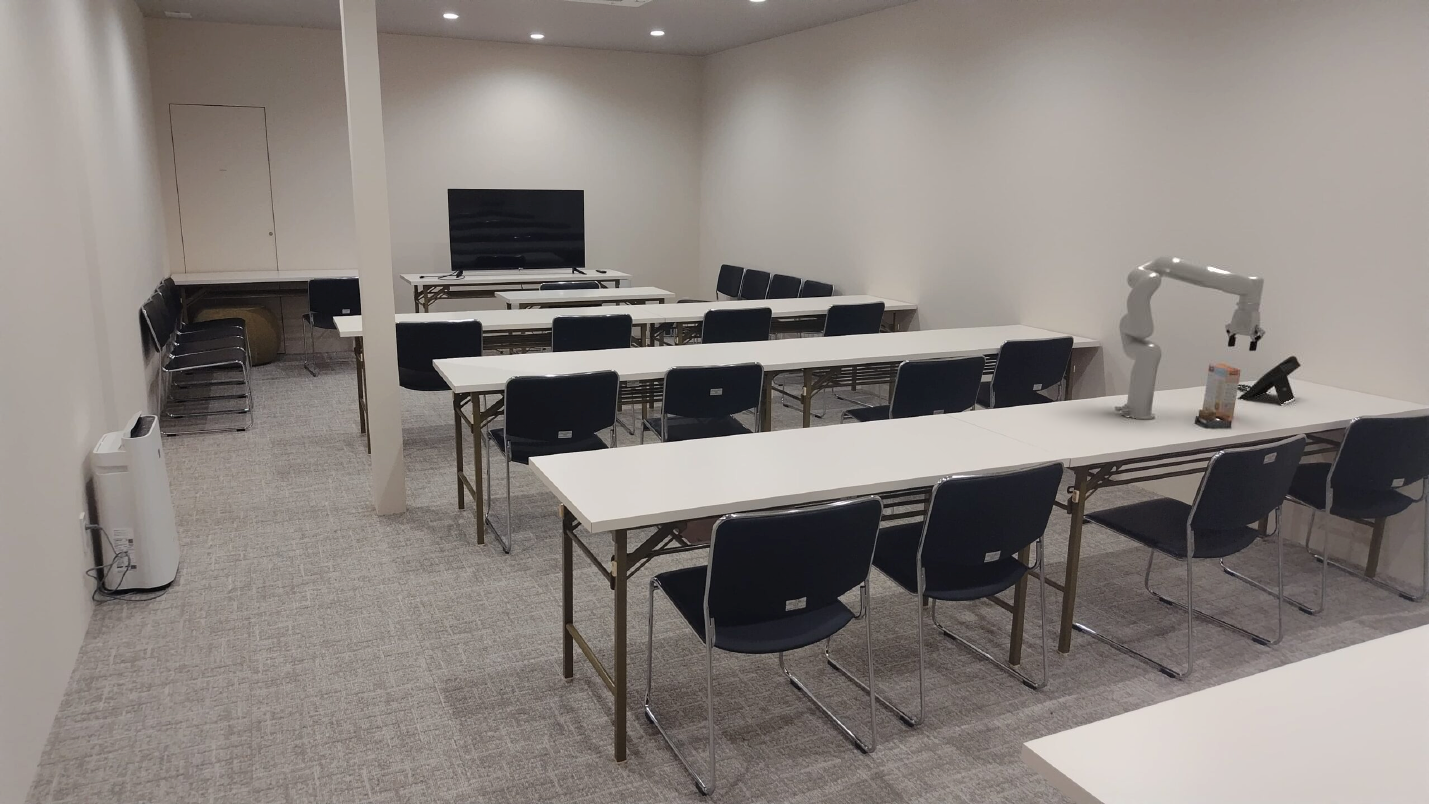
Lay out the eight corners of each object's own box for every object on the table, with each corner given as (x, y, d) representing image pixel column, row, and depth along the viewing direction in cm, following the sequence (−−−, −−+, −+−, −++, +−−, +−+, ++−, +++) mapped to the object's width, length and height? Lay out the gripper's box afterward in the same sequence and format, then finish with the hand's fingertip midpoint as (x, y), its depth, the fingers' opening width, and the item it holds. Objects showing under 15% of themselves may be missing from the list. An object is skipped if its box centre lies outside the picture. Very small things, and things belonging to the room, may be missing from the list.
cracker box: (1233, 419, 367) (1241, 369, 362) (1218, 419, 367) (1226, 369, 362) (1215, 411, 380) (1223, 362, 375) (1201, 410, 380) (1208, 362, 375)
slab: (1205, 419, 353) (1206, 412, 353) (1198, 416, 358) (1199, 409, 357) (1215, 419, 354) (1216, 412, 353) (1207, 416, 358) (1208, 409, 357)
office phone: (1236, 386, 429) (1243, 345, 425) (1303, 397, 408) (1310, 354, 404) (1210, 395, 411) (1217, 351, 406) (1279, 407, 390) (1286, 361, 385)
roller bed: (1207, 428, 352) (1208, 416, 351) (1194, 423, 360) (1196, 411, 359) (1230, 428, 353) (1232, 415, 352) (1217, 422, 361) (1219, 410, 360)
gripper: (1223, 304, 367) (1216, 345, 371) (1261, 310, 351) (1254, 352, 355) (1236, 303, 369) (1229, 344, 373) (1275, 309, 354) (1267, 352, 358)
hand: (1241, 348), depth 364 cm, fingers open, 9 cm apart
